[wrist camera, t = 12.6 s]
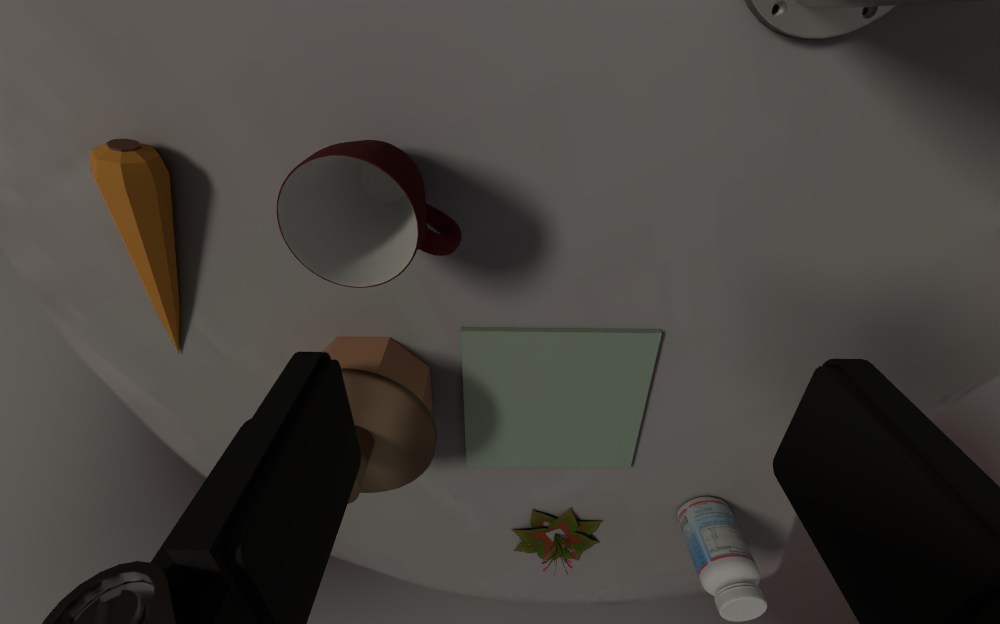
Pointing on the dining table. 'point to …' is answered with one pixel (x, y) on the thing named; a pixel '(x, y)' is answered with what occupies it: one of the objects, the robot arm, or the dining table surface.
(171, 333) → the carrot
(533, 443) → the mat
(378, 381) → the lid
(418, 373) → the bowl
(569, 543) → the lily flower
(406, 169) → the mug
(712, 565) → the pill bottle
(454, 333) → the dining table surface
